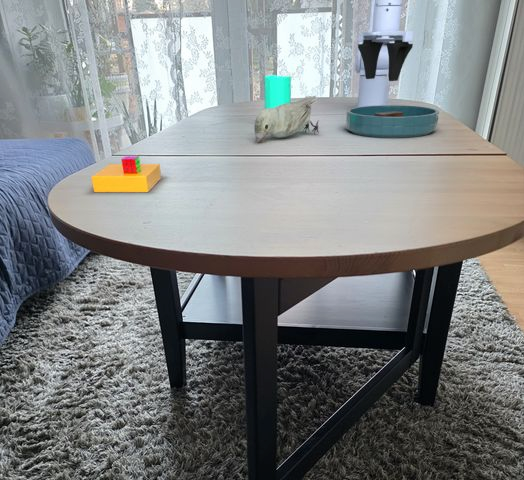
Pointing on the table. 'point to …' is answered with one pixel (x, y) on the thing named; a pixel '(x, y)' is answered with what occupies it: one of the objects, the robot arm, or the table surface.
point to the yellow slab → (127, 176)
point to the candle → (277, 90)
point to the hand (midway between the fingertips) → (381, 79)
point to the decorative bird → (285, 119)
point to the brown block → (390, 114)
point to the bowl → (392, 121)
